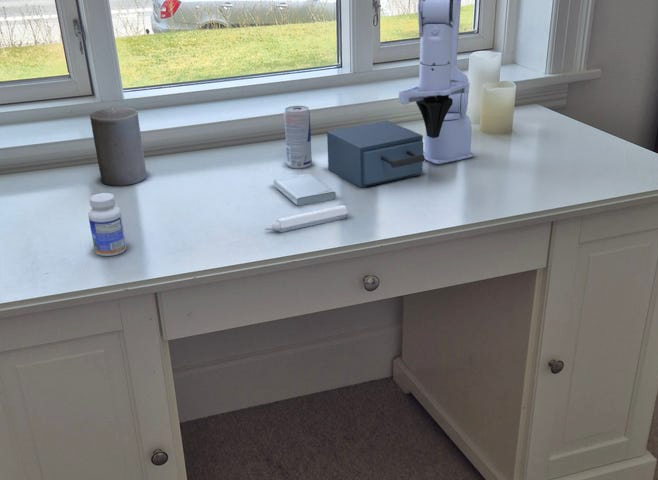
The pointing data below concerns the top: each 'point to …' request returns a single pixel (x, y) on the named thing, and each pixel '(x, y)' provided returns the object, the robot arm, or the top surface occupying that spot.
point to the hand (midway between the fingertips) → (432, 136)
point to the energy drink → (298, 136)
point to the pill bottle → (106, 225)
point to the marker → (309, 219)
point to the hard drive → (304, 189)
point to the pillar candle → (118, 146)
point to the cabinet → (363, 147)
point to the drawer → (392, 162)
